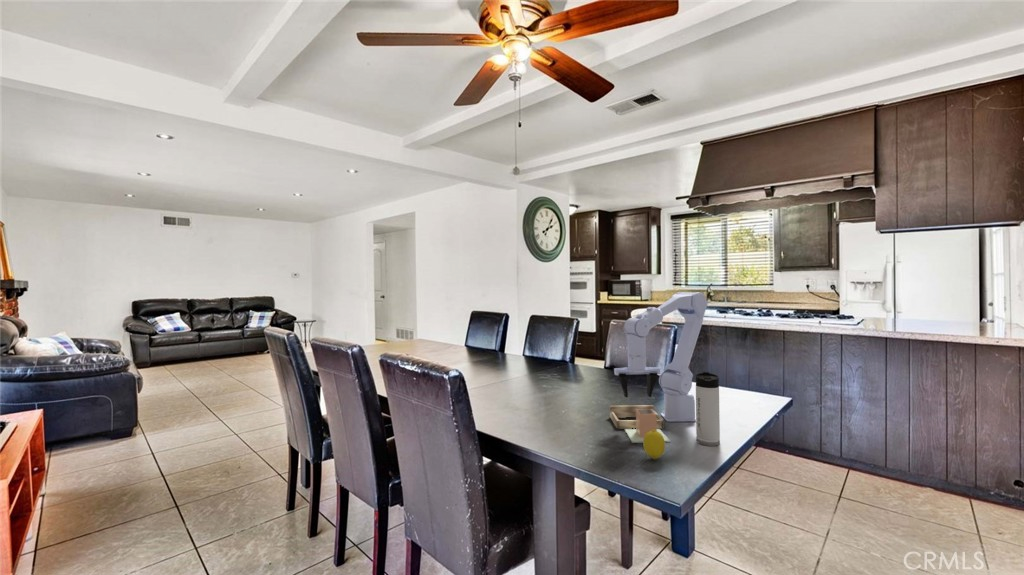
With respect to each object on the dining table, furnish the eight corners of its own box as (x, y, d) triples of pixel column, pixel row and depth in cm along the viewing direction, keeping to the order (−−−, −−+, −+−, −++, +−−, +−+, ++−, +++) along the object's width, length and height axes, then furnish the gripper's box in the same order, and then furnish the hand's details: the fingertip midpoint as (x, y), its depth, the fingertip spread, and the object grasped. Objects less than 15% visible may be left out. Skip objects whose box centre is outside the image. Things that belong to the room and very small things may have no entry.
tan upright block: (652, 431, 136) (651, 409, 136) (656, 437, 131) (656, 414, 131) (636, 431, 136) (635, 409, 136) (640, 437, 131) (639, 414, 131)
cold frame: (653, 416, 152) (653, 405, 152) (664, 428, 140) (663, 416, 140) (610, 417, 153) (609, 405, 153) (617, 428, 141) (616, 416, 141)
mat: (659, 430, 138) (659, 429, 138) (670, 442, 128) (670, 440, 128) (624, 430, 139) (624, 429, 139) (632, 442, 129) (632, 440, 129)
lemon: (640, 455, 119) (639, 426, 119) (660, 454, 120) (659, 425, 119) (648, 464, 114) (647, 433, 113) (669, 463, 114) (668, 432, 114)
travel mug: (718, 439, 130) (717, 372, 130) (721, 447, 124) (720, 377, 123) (695, 437, 132) (694, 371, 132) (697, 445, 126) (696, 376, 125)
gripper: (617, 357, 138) (618, 400, 139) (663, 356, 138) (664, 399, 138) (612, 353, 146) (613, 394, 146) (656, 352, 145) (656, 393, 146)
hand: (637, 396), depth 143 cm, fingers open, 7 cm apart
